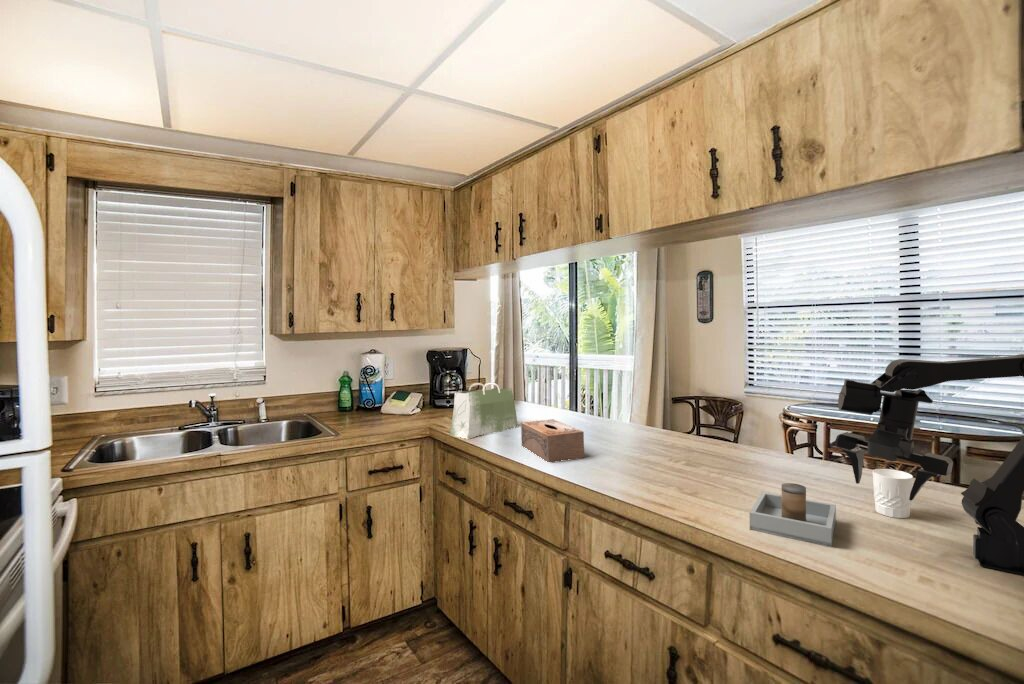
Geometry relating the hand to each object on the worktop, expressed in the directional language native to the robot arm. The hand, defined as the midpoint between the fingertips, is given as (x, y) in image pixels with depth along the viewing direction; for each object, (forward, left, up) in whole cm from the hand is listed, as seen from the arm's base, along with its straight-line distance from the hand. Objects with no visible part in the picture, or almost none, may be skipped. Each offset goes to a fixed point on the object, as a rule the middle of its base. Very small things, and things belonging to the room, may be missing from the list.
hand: (883, 491), depth 100 cm
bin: (+17, -3, -12) cm, 21 cm away
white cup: (-2, -24, -13) cm, 27 cm away
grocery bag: (+147, -42, -13) cm, 153 cm away
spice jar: (+17, -3, -11) cm, 20 cm away
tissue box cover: (+101, -28, -13) cm, 105 cm away
